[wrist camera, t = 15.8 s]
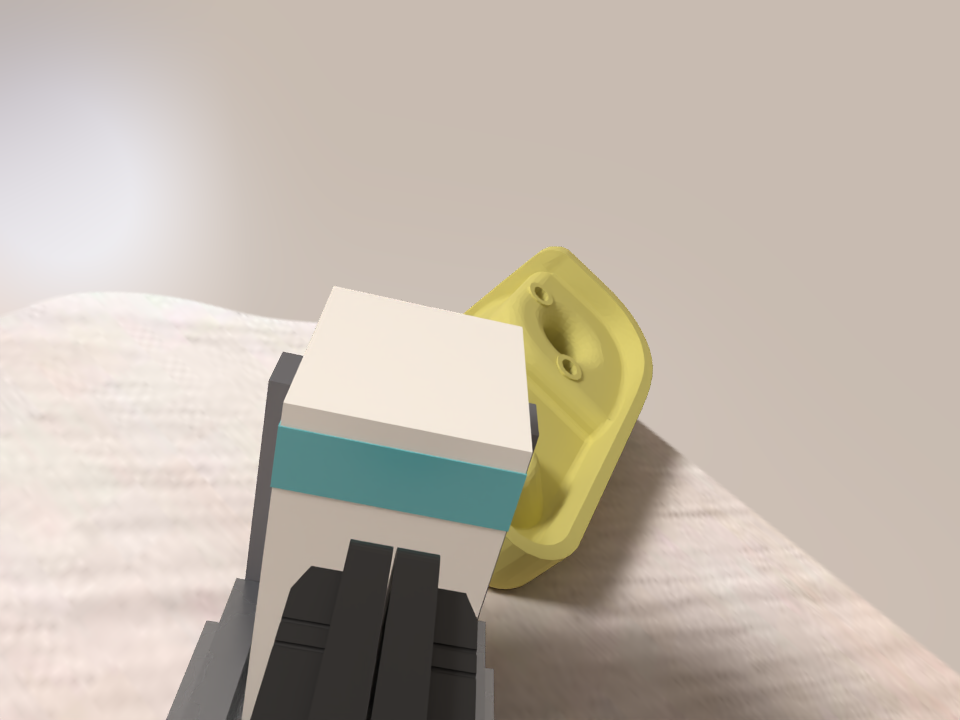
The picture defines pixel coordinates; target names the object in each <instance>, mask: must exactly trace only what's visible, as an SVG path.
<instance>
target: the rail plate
mask: <svg viewBox="0 0 960 720" xmlns="http://www.w3.org/2000/svg"><path fill="white" fill-rule="evenodd" d="M259 583H260V582H256V581H250V580H244V579H239V578H237V579H236V581H235V584H234V586H233V589H232V591H231V594H230V597H229V599H228V602H227V604H226V607H225V609H224V612H223V615H222V617H221V620H220V622H219V623H218V622H213V621H206V623H205V626H204V628H203V631H202V633H201V636H200V638H199V641H198V643H197V645H196V648H195V650H194V653H193V655H192V658H191V660H190V663H189V665H188V668H187V670H186V672H185V675H184V677H183V680H182V682H181V685H180V687H179V690H178V692H177V694H176V697H175V699H174V702H173V704H172V707H171V709H170V712H169V714H168V716H167V719H166V720H242V713H243V705H244V697H245V690H246V682H247V675H248V667H249V659H250V652H251V644H252V637H253V629H254V621H255V614H256V606H257V599H258V591H259ZM476 655H477V673H476V712H475V720H494V669H490V668H485V622H483V621H478V634H477V652H476Z"/></svg>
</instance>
